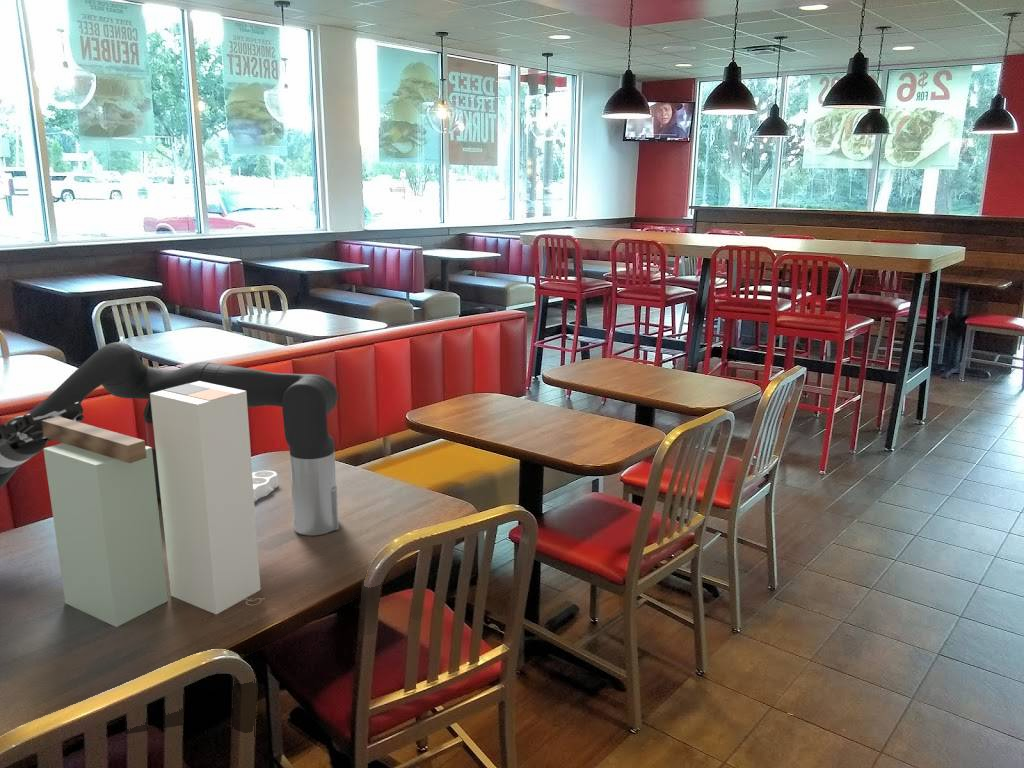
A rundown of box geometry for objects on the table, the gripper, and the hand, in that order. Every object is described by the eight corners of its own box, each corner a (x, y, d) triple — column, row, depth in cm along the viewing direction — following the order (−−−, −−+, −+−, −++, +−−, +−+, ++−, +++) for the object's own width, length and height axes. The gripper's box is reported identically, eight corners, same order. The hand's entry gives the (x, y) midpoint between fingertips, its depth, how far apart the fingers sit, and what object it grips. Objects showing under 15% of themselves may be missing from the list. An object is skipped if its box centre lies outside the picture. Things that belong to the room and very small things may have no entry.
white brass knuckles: (246, 477, 201) (291, 487, 195) (190, 502, 185) (237, 515, 179) (245, 464, 200) (291, 474, 194) (188, 489, 184) (236, 501, 178)
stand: (171, 595, 144) (149, 392, 134) (216, 572, 152) (199, 380, 142) (216, 614, 138) (197, 404, 128) (260, 589, 146) (246, 390, 137)
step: (65, 603, 141) (43, 448, 133) (117, 579, 149) (99, 432, 142) (116, 627, 134) (96, 465, 126) (167, 600, 142) (151, 447, 135)
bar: (43, 436, 139) (41, 420, 138) (60, 432, 142) (58, 416, 141) (129, 463, 127) (127, 445, 127) (146, 457, 130) (144, 440, 129)
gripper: (-34, 433, 141) (4, 402, 132) (46, 414, 153) (86, 384, 144) (-17, 472, 141) (22, 444, 132) (62, 450, 153) (102, 422, 144)
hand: (55, 413), depth 138 cm, fingers open, 8 cm apart
